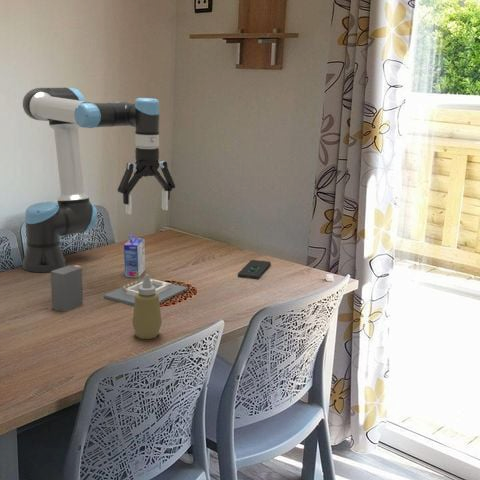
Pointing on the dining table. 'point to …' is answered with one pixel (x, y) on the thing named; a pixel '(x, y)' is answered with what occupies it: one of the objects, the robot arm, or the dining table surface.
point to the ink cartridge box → (134, 257)
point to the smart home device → (254, 269)
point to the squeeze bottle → (146, 311)
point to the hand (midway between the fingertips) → (147, 211)
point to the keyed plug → (66, 288)
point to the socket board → (131, 290)
